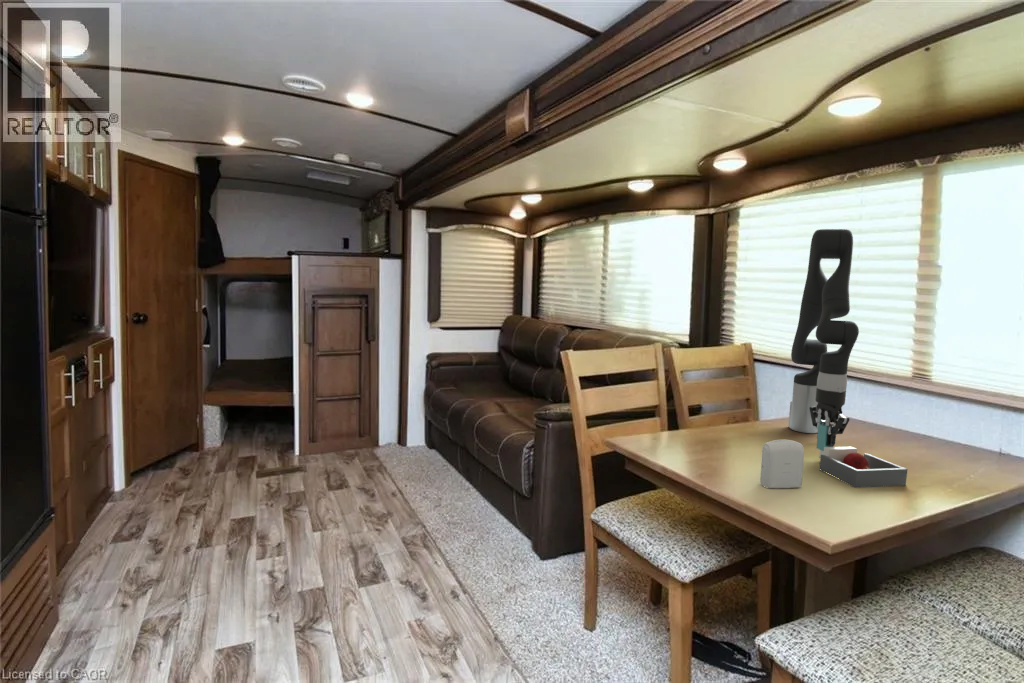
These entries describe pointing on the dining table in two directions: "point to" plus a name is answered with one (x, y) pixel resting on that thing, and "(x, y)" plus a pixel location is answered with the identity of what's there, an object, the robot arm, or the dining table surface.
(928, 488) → the dining table surface
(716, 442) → the dining table surface
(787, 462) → the photo printer
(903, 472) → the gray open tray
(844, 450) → the teal-handled white slab
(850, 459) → the onion
